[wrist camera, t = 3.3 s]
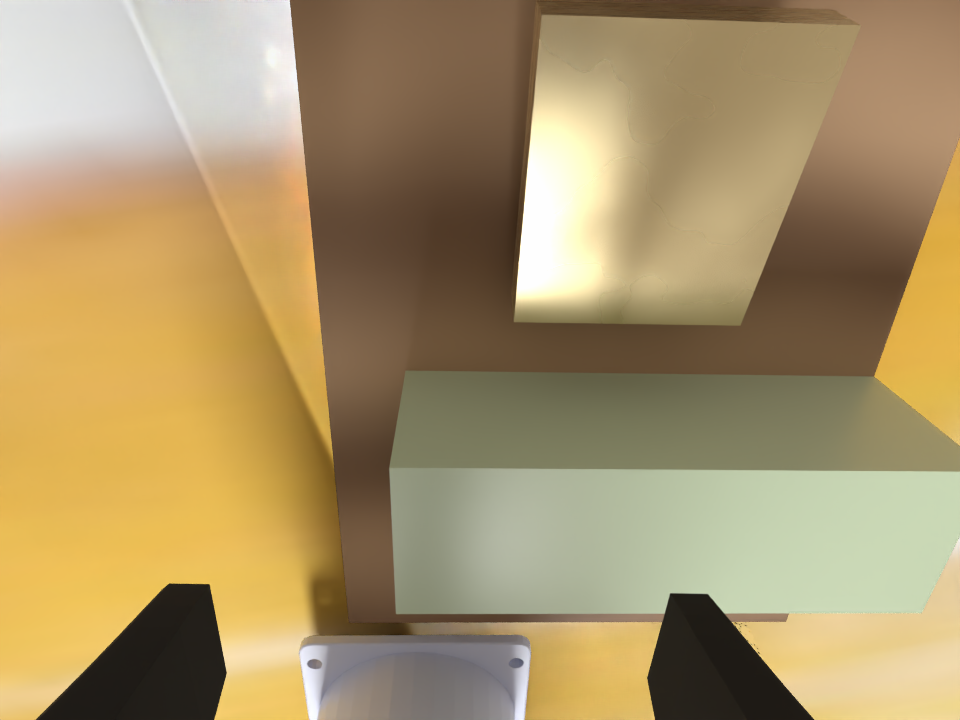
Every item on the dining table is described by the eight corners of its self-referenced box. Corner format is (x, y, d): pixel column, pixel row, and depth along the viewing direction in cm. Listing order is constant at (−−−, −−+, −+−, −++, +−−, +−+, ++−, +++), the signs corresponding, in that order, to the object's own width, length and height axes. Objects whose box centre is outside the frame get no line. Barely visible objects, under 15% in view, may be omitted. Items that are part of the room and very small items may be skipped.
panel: (753, 563, 22) (810, 665, 19) (360, 563, 22) (340, 668, 18) (1050, -406, 11) (1326, -615, 8) (280, -454, 11) (190, -701, 7)
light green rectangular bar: (829, 499, 18) (921, 613, 14) (409, 497, 17) (396, 614, 14) (873, 376, 16) (991, 471, 12) (405, 370, 16) (389, 467, 12)
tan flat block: (726, 298, 14) (739, 325, 14) (511, 294, 14) (513, 322, 14) (833, 9, 10) (861, 25, 10) (536, -2, 10) (541, 14, 10)
